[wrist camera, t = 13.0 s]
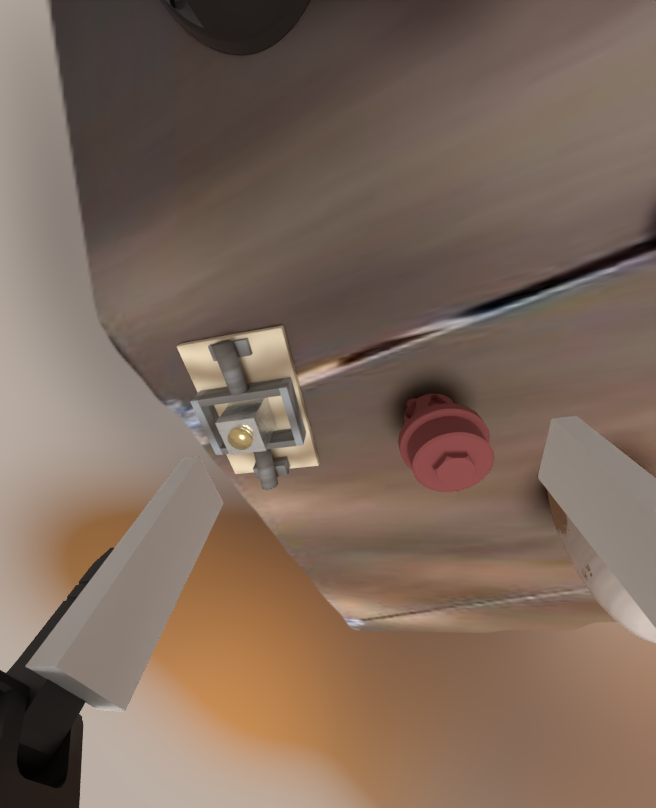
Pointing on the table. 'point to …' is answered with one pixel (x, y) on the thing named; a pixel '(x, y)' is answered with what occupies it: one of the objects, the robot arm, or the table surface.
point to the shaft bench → (252, 397)
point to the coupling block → (247, 426)
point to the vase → (600, 577)
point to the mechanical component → (445, 443)
